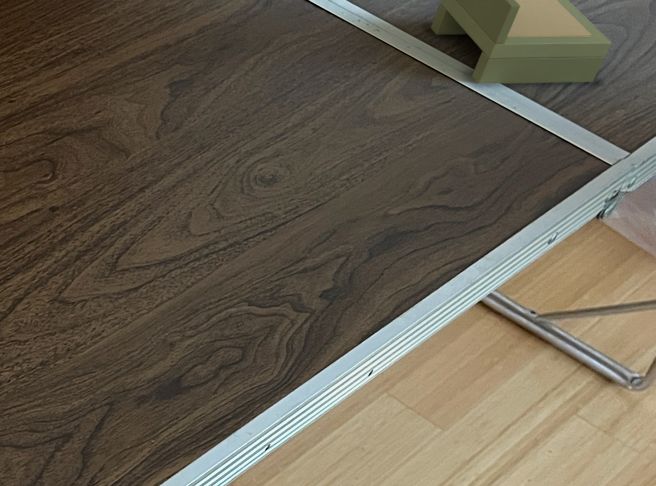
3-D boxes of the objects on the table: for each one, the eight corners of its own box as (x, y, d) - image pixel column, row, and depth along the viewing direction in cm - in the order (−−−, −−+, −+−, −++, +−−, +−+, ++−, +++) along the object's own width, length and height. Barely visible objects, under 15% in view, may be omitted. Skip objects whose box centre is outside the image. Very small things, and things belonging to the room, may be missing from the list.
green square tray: (536, 34, 109) (573, -49, 103) (588, 90, 103) (630, 5, 98) (427, 35, 107) (459, -49, 102) (474, 92, 101) (511, 5, 96)
